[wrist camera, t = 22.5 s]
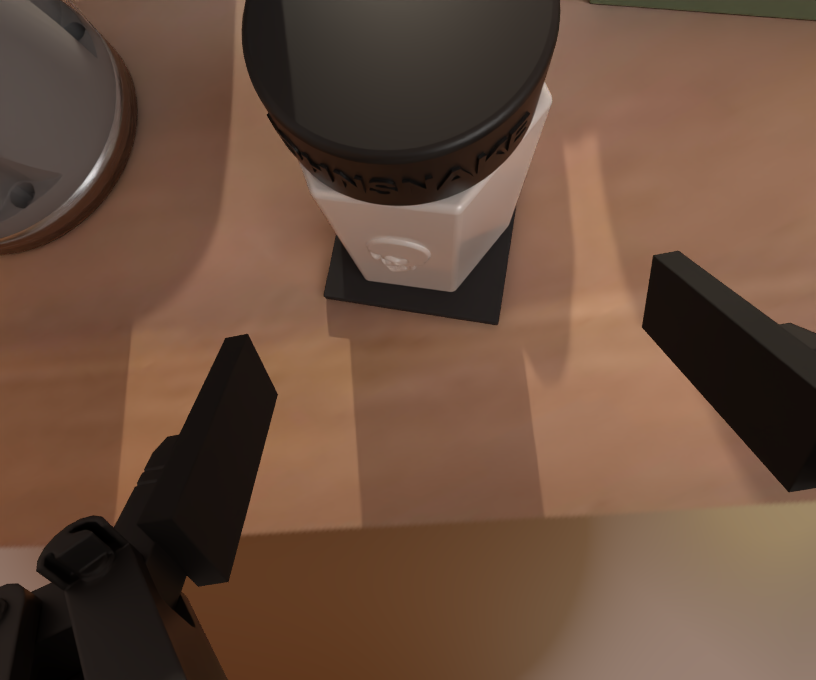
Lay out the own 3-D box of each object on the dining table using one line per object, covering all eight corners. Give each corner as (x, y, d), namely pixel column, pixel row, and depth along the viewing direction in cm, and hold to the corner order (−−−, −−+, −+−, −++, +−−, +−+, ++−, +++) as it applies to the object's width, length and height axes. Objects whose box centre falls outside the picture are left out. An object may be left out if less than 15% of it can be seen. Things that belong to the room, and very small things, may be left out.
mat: (325, 298, 23) (322, 296, 22) (358, 141, 24) (356, 136, 24) (497, 325, 22) (498, 323, 22) (522, 160, 23) (523, 155, 23)
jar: (323, 279, 23) (190, 142, 11) (351, 135, 24) (257, -134, 12) (498, 303, 22) (560, 182, 10) (518, 152, 23) (597, -122, 11)
